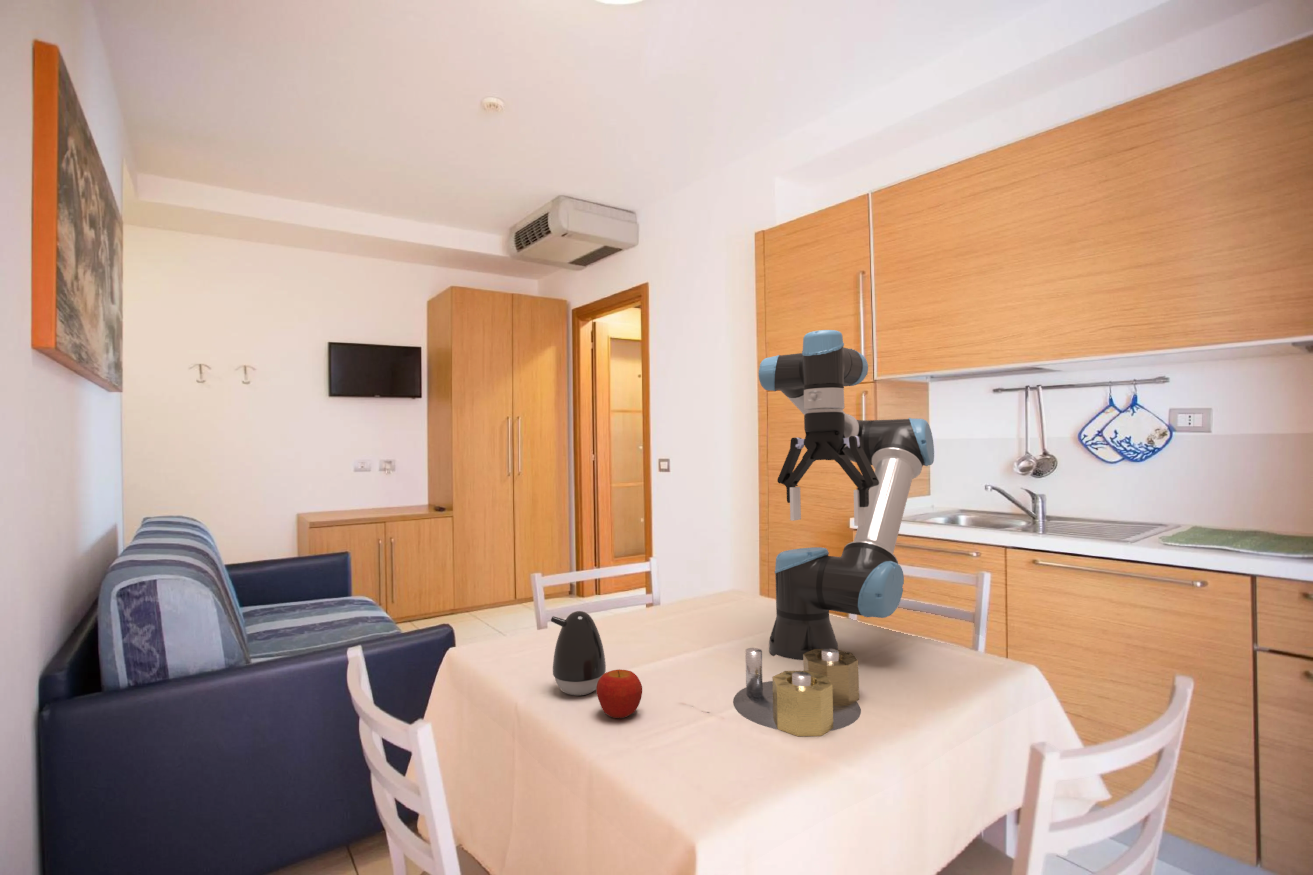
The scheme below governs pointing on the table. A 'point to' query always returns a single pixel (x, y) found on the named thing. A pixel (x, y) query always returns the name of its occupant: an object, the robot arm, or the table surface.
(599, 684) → the apple
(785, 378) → the robot arm
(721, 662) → the table surface
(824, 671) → the seated gear
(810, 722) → the gear
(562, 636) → the pump dispenser
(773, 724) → the carrier
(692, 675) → the table surface
